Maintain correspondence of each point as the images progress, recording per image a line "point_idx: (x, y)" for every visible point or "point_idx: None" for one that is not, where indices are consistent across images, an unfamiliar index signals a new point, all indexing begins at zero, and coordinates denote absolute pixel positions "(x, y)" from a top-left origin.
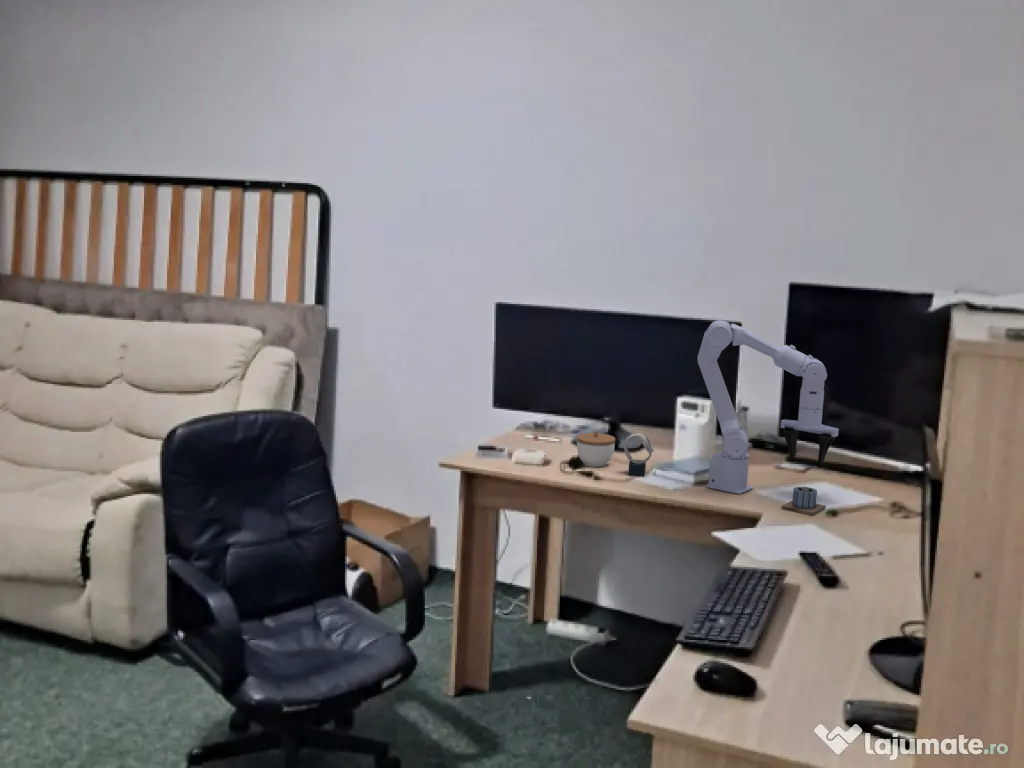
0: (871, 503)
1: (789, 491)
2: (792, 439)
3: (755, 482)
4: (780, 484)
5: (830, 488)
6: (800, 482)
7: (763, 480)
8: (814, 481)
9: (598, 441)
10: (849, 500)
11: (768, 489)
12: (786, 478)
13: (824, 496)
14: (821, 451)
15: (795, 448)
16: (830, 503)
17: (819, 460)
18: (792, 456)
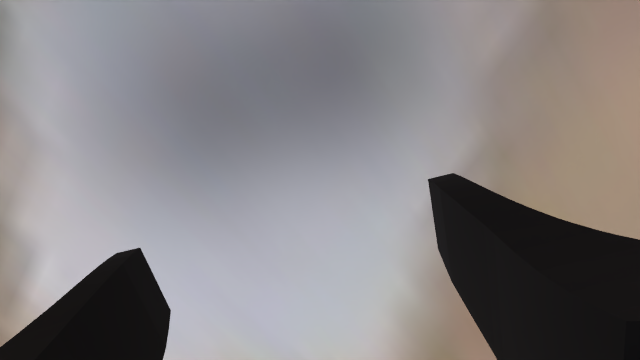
0: (6, 301)
1: (387, 115)
2: (534, 313)
3: (625, 92)
4: (499, 184)
5: (296, 331)
6: (448, 293)
7: (607, 166)
8: (414, 354)
9: None
10: (94, 254)
11: (494, 35)
12: None
13: (211, 204)
14: (27, 333)
15: (471, 302)
16: (87, 121)
17: (113, 262)
18: (432, 193)
